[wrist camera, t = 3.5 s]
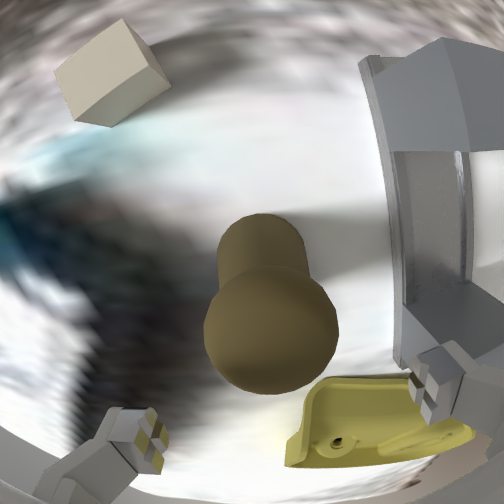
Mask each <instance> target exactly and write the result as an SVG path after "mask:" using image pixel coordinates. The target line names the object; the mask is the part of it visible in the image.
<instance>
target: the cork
mask: <svg viewBox="0 0 504 504" xmlns="http://www.w3.org/2000/svg"><path fill="white" fill-rule="evenodd" d="M217 266H218V277H219V288H220V290H219V292H218V293H217V294H216V295H215V296H214V298H213V299H212V301H211V304H210V306H209V309H208V312H207V315H206V318H205V321H204V343H205V348H206V351H207V354H208V356H209V358H210V360H211V363H212V365H213V366H214V367H215V368H216V369H217V370H218V371H219V373H220V374H221V375H222V376H223V377H224V378H225V379H226V380H227V381H228V382H229V383H231V384H233V385H235V386H237V387H238V388H240V389H242V390H244V391H248V392H252V393H256V394H265V395H278V394H282V393H287V392H291V391H295V390H297V389H299V388H301V387H303V386H305V385H307V384H309V383H311V382H312V381H313V380H314V379H315V378H317V377H318V376H319V375H320V374H321V373H322V372H323V371H324V369H325V368H326V366H327V365H328V363H329V362H330V360H331V358H332V357H333V355H334V353H335V351H336V346H337V342H338V338H339V327H338V320H337V314H336V309H335V307H334V306H333V304H332V302H331V301H330V299H329V297H328V296H327V294H326V292H325V291H324V289H323V287H321V286H320V285H319V284H318V283H316V282H315V281H314V280H313V279H311V278H310V274H309V268H308V263H307V257H306V252H305V247H304V243H303V240H302V238H301V236H300V235H299V233H298V231H297V230H296V228H294V227H293V226H292V225H291V224H290V223H288V222H287V221H286V220H285V219H282V218H279V217H277V216H274V215H272V214H254V215H250V216H247V217H243V218H241V219H240V220H238V221H237V222H235V223H234V224H232V225H231V226H230V227H229V228H228V229H227V231H226V232H225V233H224V234H223V236H222V238H221V241H220V243H219V246H218V249H217Z"/></svg>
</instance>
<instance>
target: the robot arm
mask: <svg viewBox="0 0 504 504" xmlns="http://www.w3.org/2000/svg"><path fill="white" fill-rule="evenodd" d="M410 367H411V369H412V370H413V371H412V373H411V374H410V376H409V380H408V387H409V393H410V395H411V398H412V399H413V401H414V403H416V404H418V405H421V410H420V413H421V415H422V416H423V418H424V420H425V421H426V423H427V425H428V426H429V425H432V424H434V423H436V422H439V421H441V420H443V419H445V418H448V417H450V416H451V417H452V418H453V419H455V420H457V421H459V422H461V423H463V424H465V425H467V426H469V427H471V428H473V429H475V430H477V431H479V432H481V433H483V434H485V435H487V436H489V437H491V438H492V440H491V441H490V443H489V445H488V447H487V448H486V450H485V453H484V454H485V455H486V457H487V459H488V461H487V462H485V463H484V464H482V465H481V466H479V467H477V468H476V469H474V470H472V471H471V472H469V473H467V474H466V475H464V476H462V477H460V478H459V479H457V480H455V481H453V482H451V483H449V484H447V485H445V486H443V487H441V488H439V489H437V490H435V491H433V492H431V493H429V494H427V495H425V496H422V497H421V498H418V499H415V500H413V501H411V502H408V503H406V504H504V370H502V369H498V368H494V367H491V366H487V365H482V366H479V365H478V364H477V363H476V362H475V361H474V360H473V359H472V358H471V357H470V356H469V355H468V354H467V353H466V352H465V351H464V350H463V349H462V348H461V347H460V346H459V345H458V344H457V343H456V342H455V341H453V340H450V341H448V342H446V343H444V344H441V345H439V346H437V347H434V348H432V349H430V350H427V351H425V352H422V353H420V354H417V355H415V356H412V358H411V362H410ZM157 416H158V415H157V414H156V412H155V411H154V409H153V408H149V407H111V408H110V409H109V410H108V412H107V414H106V416H105V418H104V420H103V421H102V423H101V425H100V427H99V429H98V431H97V433H96V435H95V437H94V439H93V440H92V439H90V440H88V441H87V442H85V443H84V444H82V445H81V446H80V447H78V448H77V449H75V450H74V451H72V452H71V453H69V454H68V455H66V456H65V457H64V458H62V459H61V460H59V461H58V462H56V463H55V464H53V465H52V466H50V467H48V468H47V469H45V470H44V472H43V474H42V476H41V478H40V480H39V482H38V484H37V486H36V487H35V489H34V491H33V493H32V495H29V494H27V493H25V492H23V491H21V490H19V489H17V488H15V487H13V486H11V485H9V484H7V483H5V482H3V481H2V480H0V504H111V503H112V501H113V500H114V499H115V498H116V497H117V496H118V495H119V494H120V493H121V492H122V491H123V490H124V489H125V488H126V487H127V486H128V485H129V484H130V483H131V482H132V481H133V480H134V479H135V478H136V477H137V476H138V474H155V475H161V471H162V467H163V463H164V458H163V456H162V454H163V453H164V452H165V451H166V450H167V448H168V443H169V441H168V433H167V430H166V428H165V426H164V425H163V424H162V423H161V422H159V421H158V420H156V419H157ZM137 473H138V474H137Z"/></svg>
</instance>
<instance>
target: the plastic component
mask: <svg viewBox="0 0 504 504" xmlns="http://www.w3.org/2000/svg"><path fill="white" fill-rule="evenodd" d="M408 380H409V379H364V378H337V377H331V378H327V379H324V380H322V381H320V382H318V383H317V384H316V385H315V386H314V387H313V388H312V389H311V390H310V392H309V393H308V395H307V396H306V398H305V401H304V407H303V417H302V423H301V427H300V429H299V431H298V432H297V433H296V434H295V435H294V436H292V437H291V438H290V439H289V440H288V441H287V443H286V454H285V464H284V466H285V467H291V468H347V467H362V466H373V465H382V464H390V463H397V462H403V461H409V460H414V459H419V458H423V457H427V456H431V455H434V454H438V453H441V452H444V451H447V450H450V449H452V448H455V447H457V446H459V445H462V444H464V443H466V442H469V441H471V440H473V439H474V437H475V433H476V431H475V429H473V428H471V427H469V426H467V425H465V424H463V423H461V422H459V421H457V420H455V419H453V418H452V417H450V418H448V419H446V420H441V421H439V422H436V423H434V424H432V425H429V426H428V425H427V423H426V421H425V420H424V418H423V416H422V415H421V413H420V410H421V405H418V404H416V403H414V401H413V399H412V398H411V395H410V393H409V387H408ZM337 438H342V440H341V441H334V440H335V439H337Z"/></svg>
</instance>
